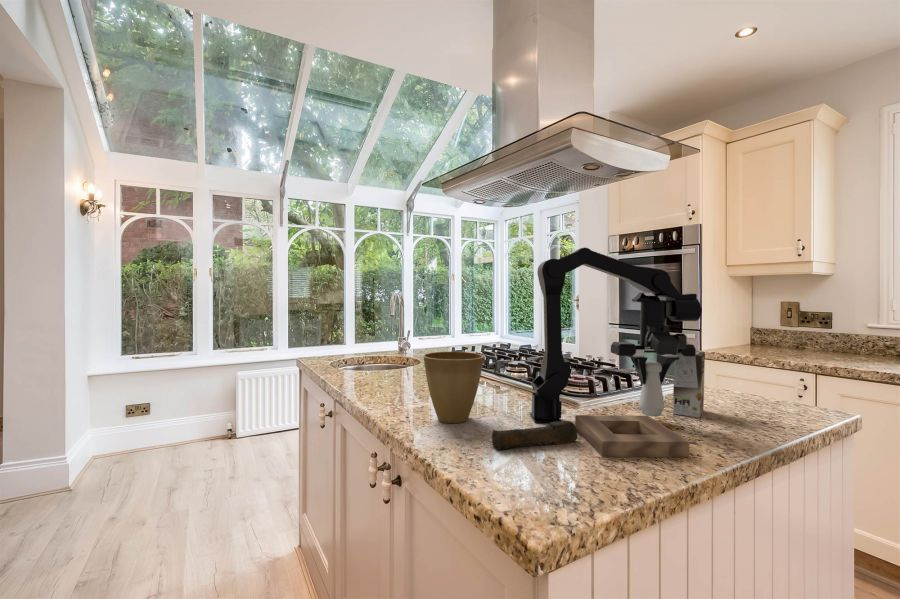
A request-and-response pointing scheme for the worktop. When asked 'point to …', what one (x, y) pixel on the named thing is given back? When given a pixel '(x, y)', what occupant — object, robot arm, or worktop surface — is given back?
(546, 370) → the robot arm
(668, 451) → the socket board
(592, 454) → the worktop surface
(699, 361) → the coffee box
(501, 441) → the dark brown log
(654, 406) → the salt shaker
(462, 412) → the plant pot
